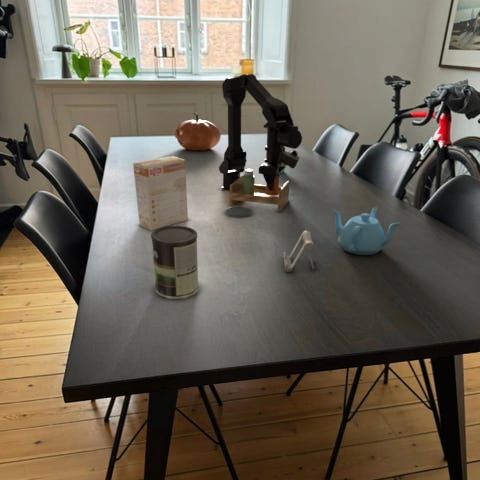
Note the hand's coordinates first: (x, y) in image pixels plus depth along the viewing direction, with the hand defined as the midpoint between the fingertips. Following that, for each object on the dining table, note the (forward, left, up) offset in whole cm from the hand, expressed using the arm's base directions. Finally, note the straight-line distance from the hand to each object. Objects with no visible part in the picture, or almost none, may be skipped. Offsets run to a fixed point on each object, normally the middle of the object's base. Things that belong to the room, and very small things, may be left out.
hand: (272, 189), depth 164 cm
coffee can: (-5, -72, -6) cm, 72 cm away
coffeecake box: (-28, -31, -6) cm, 42 cm away
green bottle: (-9, 0, -2) cm, 9 cm away
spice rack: (-4, 0, -6) cm, 7 cm away
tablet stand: (+20, -49, -6) cm, 53 cm away
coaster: (-8, -13, -6) cm, 17 cm away
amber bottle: (0, 0, -2) cm, 2 cm away
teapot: (+35, -30, -6) cm, 46 cm away
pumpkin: (-61, +81, -6) cm, 102 cm away
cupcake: (-8, +48, -6) cm, 50 cm away
